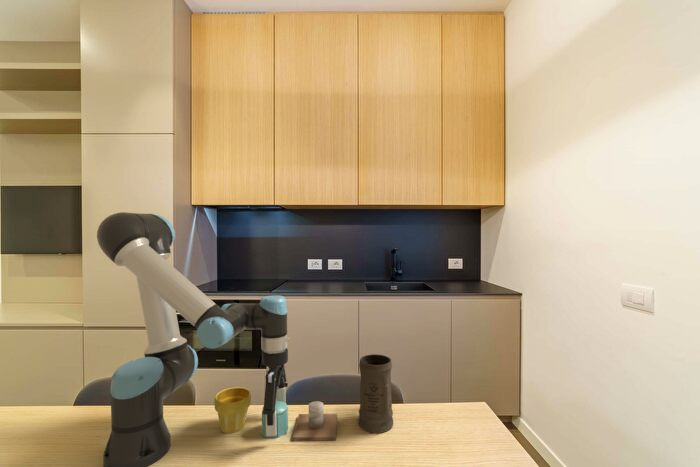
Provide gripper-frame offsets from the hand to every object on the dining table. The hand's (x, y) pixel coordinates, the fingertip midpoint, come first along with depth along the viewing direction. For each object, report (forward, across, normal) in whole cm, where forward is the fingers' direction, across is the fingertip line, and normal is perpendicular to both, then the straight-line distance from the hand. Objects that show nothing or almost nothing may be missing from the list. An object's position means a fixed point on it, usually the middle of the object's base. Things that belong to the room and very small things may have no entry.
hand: (276, 421), depth 100 cm
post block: (+3, +1, -12) cm, 12 cm away
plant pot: (+3, +2, +14) cm, 14 cm away
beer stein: (+4, +6, -30) cm, 30 cm away
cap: (+3, 0, 0) cm, 3 cm away
